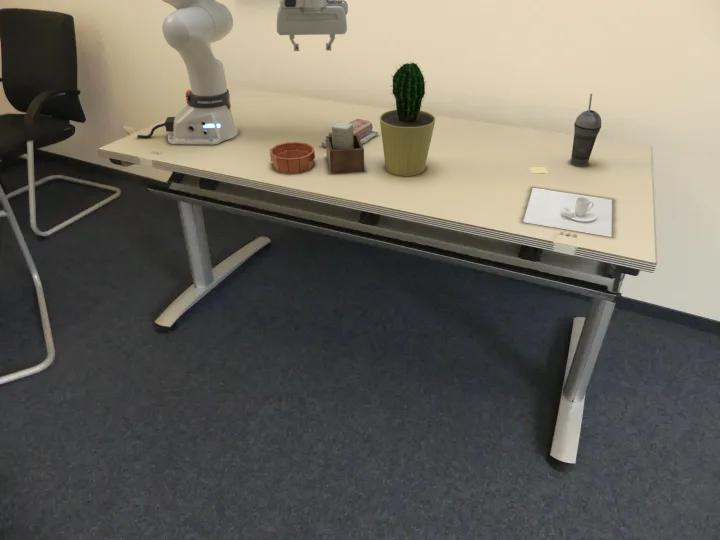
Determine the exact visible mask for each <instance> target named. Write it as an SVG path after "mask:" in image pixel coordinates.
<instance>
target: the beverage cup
mask: <svg viewBox="0 0 720 540" xmlns="http://www.w3.org/2000/svg"><path fill="white" fill-rule="evenodd" d="M592 99H593V93H590V94H589V101H588V109H587V110H584V111H582V112H580V113H579V115H578V116H577V117H576V119H575V121H574V124H573V125H574V126H573V127H574V129H573V130H574V131H573V132H574V133H573V142H572V149H571V155H570V156H571V157H570V158H571V159H570V164H571V165H573V166H575V167H586V166H587V165H588V163H589V161H590V158H591V154H592V152H593V149H594V146H595V143H596V140H597V138H598V135H599V133H600V131H601V128H602V118H601V116H600V114H599V113H598V112H597V111H596V110H593V109H591V107H592Z"/></svg>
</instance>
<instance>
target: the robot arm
mask: <svg viewBox="0 0 720 540" xmlns="http://www.w3.org/2000/svg"><path fill="white" fill-rule="evenodd" d="M161 1H162V2H164V3H166V4H169V5H170V6H172V7H173V8H174V9H176V10H175V11H173V12H172V13H170V14H169V15H167V16H166V17H165V18H164V19H163V22H162V27H161V28H162V33H163V37H164V39H165V41H166V43H167V44H168V45H169V47H171V48H173V49H174V50H175V51H177V53H178V54H179V55H180V57H181V59H182V60H183V61H182V62H183V63H184V65H185V68H186V71H187V75H188V80H189V81H188V82H189V86H190V89H187V90H186V91H185V101H186V104H185V106H184V107H183V108H182V109H181V110H180V111H178V113H177V114H176V115H174V116H167V117H166V119H165V121H164V122H163V123H160V124H157V125H155V126H153V128H151V130H150V132H149V134H146V135H145V134H143V135H142V134H137V138H139V139H148V138H152V136H153V135H154V132H156V130H158V129H159V128H162V127H164V128H165V131H166V132H167V141H168V143H170V144H171V145H206V146H207V145H209V146H210V145H213V146H215V145H218V144H221V143H223V142H225V141H227V140H230V139H233V138H235V137H236V136H238V134H239V130H238V128H237V126H236V123H235V121H234V120H235V119H234V117H233V113H232V109H231V108H232V101H231V94H230V91H229V88H228V86H227V80H226V79H227V77H226V71H225V66H224V64H223V63H222V61H220V60H219V59H217V58H216V57H215V55H214V52H213V50H212V47H211V44H213V43H216V42H218V41H221V40H223V39H224V38H225V37H227V36H228V35H229V34H230V33H231V32H232V30H233V27H234V19H233V15H232V13H231V10H230V9H229V8H228V7H227V6H226V5H224V4H223V3H221V2H219V1H217V0H161ZM278 1H279V7H278V8H277V13H276V32H277V34H278V35H279V36H289V40H290V42H291V44H292V45H293V52H299V51H300V44H299V43H296V41H295V40H294V39H295V36H315V35H316V36H318V35H320V36H321V35H323V36H324V35H325V36H326V35H328V36H329V41H328V42H326V43H325V51H332V45H333V43H334V41H335V40H336V35H345V34H346V33H347V32H348V22H347V14H348V12H349V5H348V2H347V1H346V0H278Z"/></svg>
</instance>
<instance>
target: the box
mask: <svg viewBox="0 0 720 540" xmlns="http://www.w3.org/2000/svg"><path fill="white" fill-rule="evenodd" d="M331 132H332V143H333V150H342V149H354V136H353V124H348V122H346V123H345V122H336V123H335V124H334V125H332V126H331Z"/></svg>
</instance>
